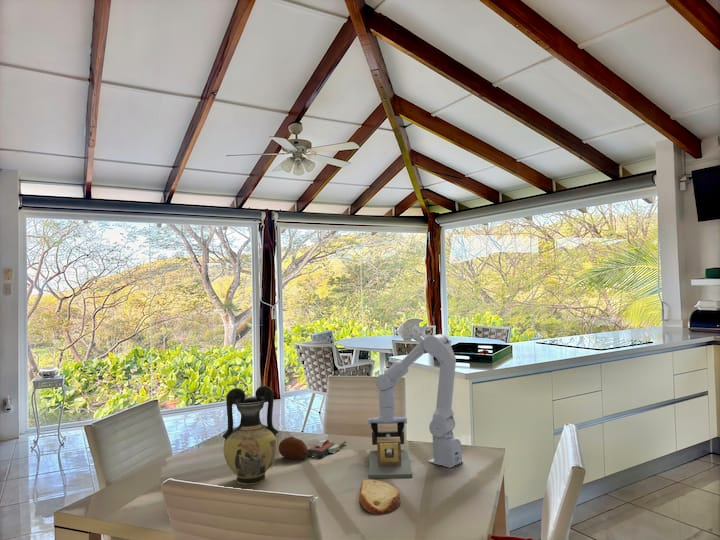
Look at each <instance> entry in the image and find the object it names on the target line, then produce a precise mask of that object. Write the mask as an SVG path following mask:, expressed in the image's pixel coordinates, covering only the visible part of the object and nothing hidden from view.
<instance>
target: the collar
mask: <svg viewBox="0 0 720 540" xmlns="http://www.w3.org/2000/svg"><path fill="white" fill-rule="evenodd" d="M392 448H393V450H394V456H385V449H392ZM380 457H381V462H398V442H397V443H380Z"/></svg>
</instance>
